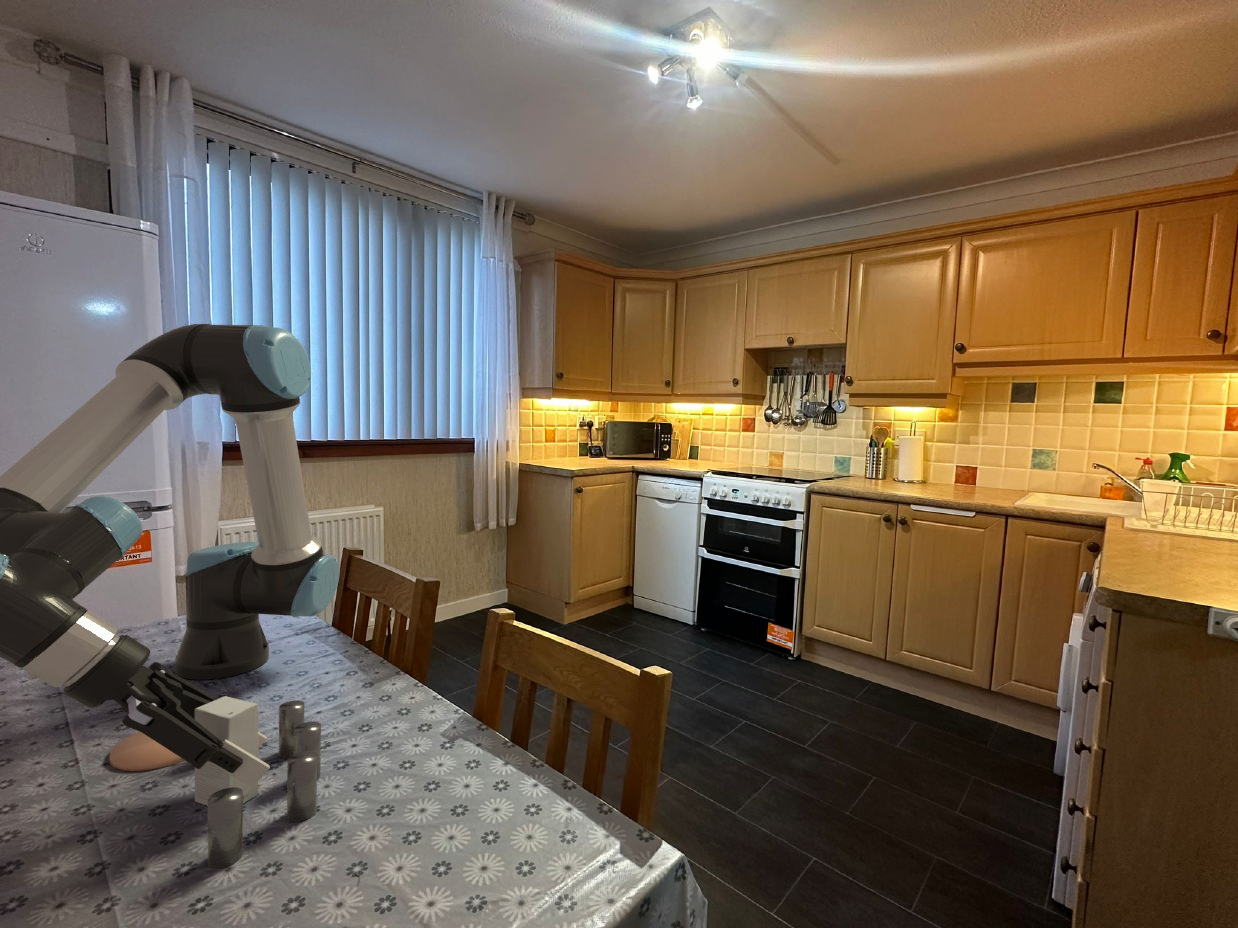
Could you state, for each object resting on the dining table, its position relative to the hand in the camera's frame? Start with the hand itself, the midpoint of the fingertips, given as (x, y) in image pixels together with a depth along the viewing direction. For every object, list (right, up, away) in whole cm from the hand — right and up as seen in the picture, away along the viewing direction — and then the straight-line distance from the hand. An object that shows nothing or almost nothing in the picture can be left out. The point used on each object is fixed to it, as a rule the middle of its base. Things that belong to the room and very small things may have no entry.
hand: (259, 760), depth 77 cm
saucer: (-19, -3, +9) cm, 21 cm away
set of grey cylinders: (-2, -4, 0) cm, 4 cm away
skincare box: (-3, -4, -2) cm, 5 cm away
